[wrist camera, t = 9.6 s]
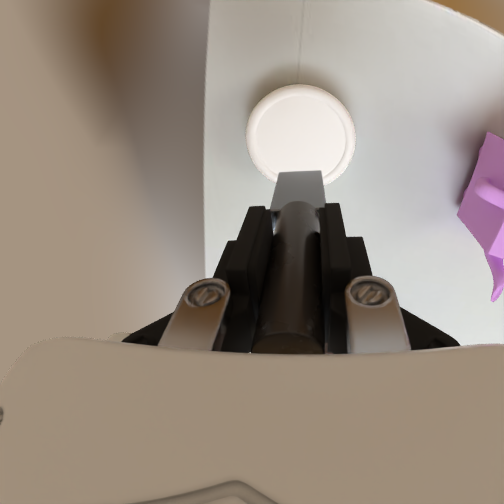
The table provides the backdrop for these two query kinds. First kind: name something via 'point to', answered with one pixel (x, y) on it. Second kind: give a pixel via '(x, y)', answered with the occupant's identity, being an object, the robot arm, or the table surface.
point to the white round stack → (300, 133)
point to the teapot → (488, 207)
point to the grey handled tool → (293, 270)
